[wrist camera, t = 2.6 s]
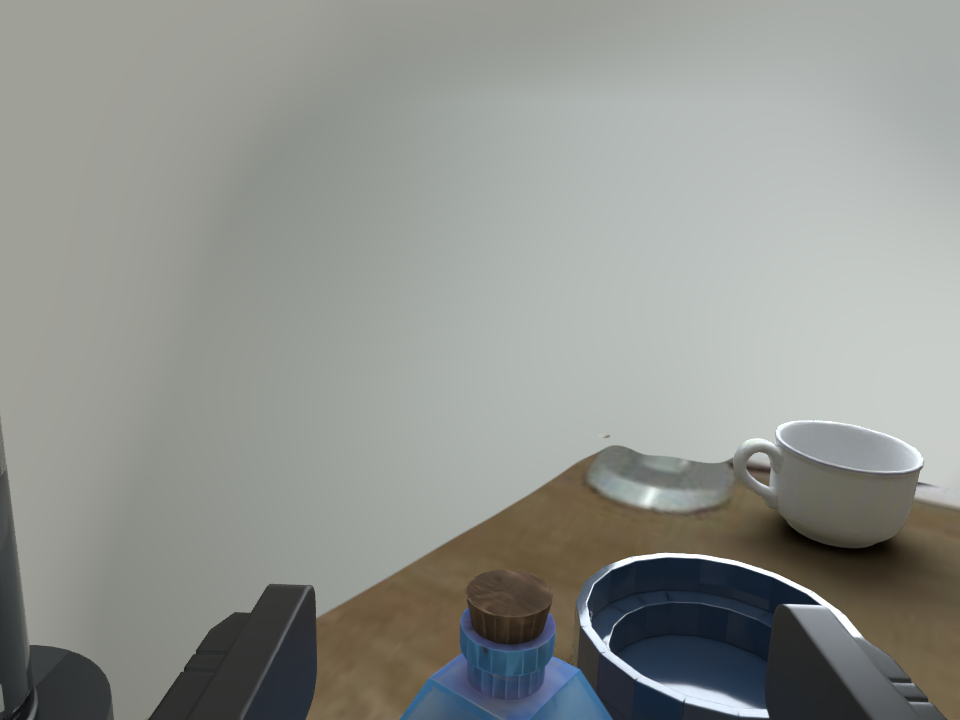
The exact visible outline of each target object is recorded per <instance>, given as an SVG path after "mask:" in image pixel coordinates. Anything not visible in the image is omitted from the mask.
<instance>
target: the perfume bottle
mask: <svg viewBox="0 0 960 720" xmlns="http://www.w3.org/2000/svg"><path fill="white" fill-rule="evenodd" d="M465 592H466V597H467V602H468V608H467V609H466V610H465V611H464V612H463V615H462V617H461V620H460V647H461V652H462V653H461V654H460V655H459V656H457V657H456V658H455V659H453V660H452V661H451V662H449V663H448V664H447V665H445V666H444V667H442V668H441V669H440V670H438V671H437V672H436V673H434V674H433V675H432V676H430V677H429V678H428V680H427V681H426V683H425V684H424V686H423V687H422V688H421V690H420V691H419V693H418V694H417V695H416V697H415V698H414V700H413V701H412V703H411V704H410V705H409V707H408V708H407V710H406V711H405V712H404V714H403V715H402V717H401V718H400V720H613V719H612V717H611V716H610V714H609V713H608V711H607V710H606V708H605V707H604V705H603V704H602V702H601V701H600V699H599V697H598V696H597V694H596V693H595V691H594V690H593V688H592V687H591V685H590V684H589V682H588V681H587V679H586V678H585V676H584V674H583V673H582V671H581V670H580V669H578V668H576V667H574V666H572V665H570V664H568V663H566V662H564V661H562V660H560V659H558V658H556V657H553V653H554V644H555V626H556V624H555V622H554V619H553V616H552V615H551V614H550V613H549V610H550V607H551V603H552V599H553V592H552V589H551V587H550V586H549V585H548V584H547V583H546V582H545V581H544V580H543V579H541V578H539V577H537V576H535V575H533V574H530V573H526V572H523V571H517V570H494V571H489V572H484V573H482V574H480V575H478V576H475V577H474V578H473V579H472V580H471V581H470V582H468V584H467V587H466V589H465Z"/></svg>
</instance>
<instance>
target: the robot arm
mask: <svg viewBox="0 0 960 720" xmlns="http://www.w3.org/2000/svg"><path fill="white" fill-rule="evenodd" d="M315 603H316V601H315V591H314V588H313V586H311V585H286V584H285V585H284V584H269V585H268V586H267V587H266V589H265V591H264V592H263V594H262V596H261V597H260V599H259V600H258V602H257V604H256V605H255V607H254V608H253V610H252V612H251V613H238V612H235V613H233V614H232V615H230V616H229V617H228V618H226V619H225V620H223V621H222V622H221V623H219V624H218V625H216V626H215V627H213V628H212V629H211V630H210V631H209V632H208V634H207V635H206V637H205V638H204V640H203V641H202V643H201V644H200V646H199V647H198V649H197V650H196V654H194V655H193V656H192V657H191V659H190V660H189V661H188V663H187V664H186V666H185V667H184V672H181V673H180V675H179V676H178V677H177V679H176V680H175V682H174V683H173V685H172V686H171V688H170V689H169V690H168V692H167V693H166V695H165V696H164V698H163V699H162V701H161V702H160V704H159V705H158V706H157V708H156V709H155V711H154V712H153V714H152V715H151V717H150V718H149V719H148V720H305V719H306V717H307V714H308V711H309V709H310V706H311V703H312V699H313V695H314V690H315V684H316V675H317V644H316V604H315ZM765 702H766V708H767V712H768V715H769V719H770V720H947V719H946V718H945V717H944V716H943V714H942V713H941V712H940V711H939V710H938V709H937V708H936V707H935V705H934V704H933V703H929V702H928V698H927V696H926V695H925V694H924V693H923V692H922V691H921V690H920V689H919V688H918V686H917V685H916V684H912V683H911V679H910V677H909V676H908V675H907V674H906V673H905V672H904V671H903V670H902V668H901V667H900V666H899V665H898V664H897V663H896V662H895V661H894V660H893V658H892V657H891V656H889V655H888V654H886V653H885V652H883V651H882V650H880V649H879V648H877V647H876V646H874V645H873V644H871V643H870V642H868V641H867V640H865V639H863V638H862V637H853V636H852V635H851V634H850V633H849V631H848V630H847V629H846V628H845V627H844V625H843V624H842V623H841V622H840V621H839V620H838V618H837V617H836V616H835V615H834V614H833V612H832V611H831V610H830V609H829V608H828V607H826V606H823V605H798V604H779V605H778V606H777V607H776V609H775V611H774V615H773V621H772V629H771V637H770V645H769V653H768V661H767V669H766V677H765ZM38 716H39V705H38V697H37V691H36V688H35V686H34V682H33V674H32V666H31V658H30V650H29V640H28V631H27V624H26V616H25V608H24V600H23V592H22V584H21V576H20V568H19V560H18V552H17V544H16V536H15V528H14V520H13V512H12V504H11V497H10V488H9V480H8V473H7V465H6V458H5V450H4V442H3V434H2V426H1V418H0V720H37V719H38Z"/></svg>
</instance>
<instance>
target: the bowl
mask: <svg viewBox="0 0 960 720" xmlns="http://www.w3.org/2000/svg"><path fill="white" fill-rule="evenodd" d="M779 604H798V605H823V606H826V607H828V608H829V609H830V610H831V611H832V612H833V614H834V615H835V616H836V617H837V618H838V620H839V621H840V622H841V623H842V624H843V625H844V627H845V628H846V629H847V630H848V631H849V633H850V634H851V635H852V636H853V637H862V638H863V639H864V637H863V636H862V635H861V634H860V633H859V631H858V630H857V629H856V628H855V627H854V625H853V624H852V623H851V622H850V621H849V619H848V618H847V617H846V616H845V615H844V614H843V613H842V612H840V611H839V610H838V609H836V608H835V607H833V606H832V605H831V604H829V603H828V602H827V601H825V600H824V599H822V598H821V597H820V596H818V595H817V594H816V593H814V592H813V591H811V590H809V589H807V588H805V587H802V586H800V585H798V584H796V583H794V582H792V581H790V580H788V579H786V578H784V577H782V576H780V575H777V574H775V573H772V572H769V571H766V570H763V569H760V568H757V567H754V566H751V565H748V564H745V563H741V562H738V561H733V560H727V559H722V558H717V557H711V556H706V555H699V554H675V553H664V554H663V553H659V554H651V555H643V556H635V557H629V558H626V559H624V560H621V561H618V562H615V563H612V564H610V565H607V566H604V567H602V568H601V569H600V570H599V571H597V572H596V573H595V574H594V575H592V576H591V577H590V578H589V579H587V580H586V581H585V582H584V584H583V586H582V589H581V591H580V594H579V596H578V598H577V601H576V607H575V622H574V637H573V638H574V639H573V654H572V666H574V667H576V668H578V669H580V670H581V671H582V673H583V674H584V676H585V678H586V679H587V681H588V682H589V684H590V685H591V687H592V688H593V690H594V691H595V693H596V694H597V696H598V697H599V699H600V701H601V702H602V704H603V705H604V707H605V708H606V710H607V711H608V713H609V714H610V716H611V717H612V719H613V720H770V719H769V715H768V712H767V708H766V702H765V677H766V669H767V661H768V653H769V645H770V637H771V629H772V621H773V615H774V611H775V609H776V607H777V606H778V605H779Z"/></svg>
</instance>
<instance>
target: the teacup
mask: <svg viewBox="0 0 960 720" xmlns="http://www.w3.org/2000/svg"><path fill="white" fill-rule="evenodd" d="M775 437H776V443H775V445H774V444H773V443H771V442H769V441H767V440H764V439H751V440H748V441H746V442H744V443H743V444H741V445H740V446H739V448H738V449H737V450H736V453H735V455H734V458H733V466H734V470H735V473H736V475H737V476H738V478H739V479H740V481H741V482H742V483H743V484H744V485H745V486H746V487H748V488H749V489H750V490H751V491H753V492H754V493H756V494H758V495H759V496H761V497H762V498H763V500H764V502H765V504H766V505H767V506H768V507H770V508H773V509H776V510H777V511H778V512H779V513H780V514H781V516H783V517H784V518H785V519H786V521H787V522H788V524H789V525H790V526H791V527H792V528H793V529H795V530H796V531H797V532H799V533H800V534H802V535H804V536H806V537H808V538H810V539H812V540H815V541H817V542H820V543H823V544H827V545H831V546H836V547H842V548H863V547H868V546H871V545H874V544H875V543H878V542H882V541H885V540H888V539H890V538H892V537H894V536H895V535H896V534H898V533H899V532H900V531H901V529H902V528H903V527H904V525H905V523H906V521H907V519H908V516H909V513H910V510H911V506H912V503H913V499H914V495H915V491H916V486H917V482H918V477H919V473H920V470H921V469H922V468H923V465H924V459H923V457H922V455H921V454H920V453H919V452H918V450H917V449H916V448H913V447H912V446H910V445H908V444H907V443H905V442H903V441H901V440H899V439H896V438H894V437H892V436H889V435H886V434H883V433H881V432H877V431H874V430H870V429H867V428H863V427H859V426H854V425H849V424H842V423H836V422H828V421H815V420H812V421H794V422H789V423H785V424H783V425H781V426H779V427H778V428H777V429H776V432H775ZM757 452H763V453H766V454H767V455H768V457H769V459H770V465H771V473H770V487H768V486H766V485H763V484H761V483H760V482H758V481H756V480H755V479H754V478H753V477H752V476H751V475H750V474H749V473H748V471H747V468H746V466H747V461H748V459H749V458H750V457H751V456H752V455H753V454H754V453H757Z"/></svg>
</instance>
